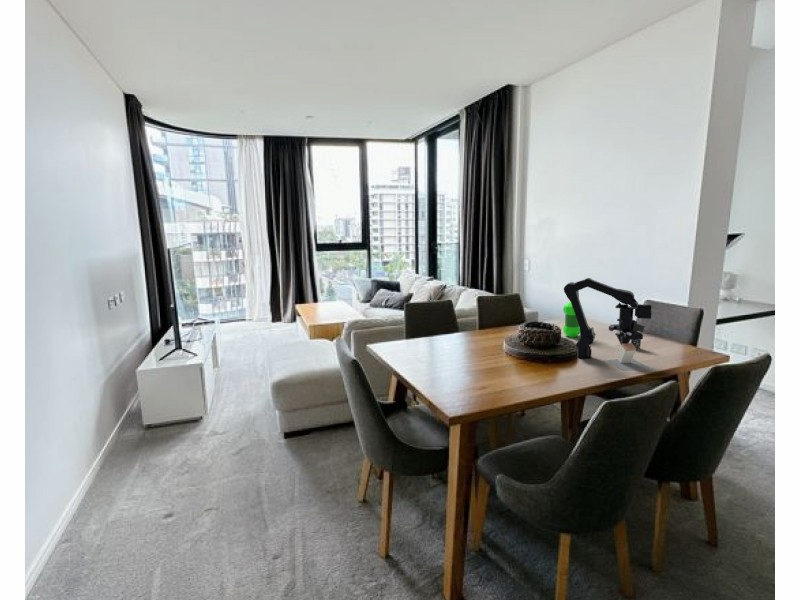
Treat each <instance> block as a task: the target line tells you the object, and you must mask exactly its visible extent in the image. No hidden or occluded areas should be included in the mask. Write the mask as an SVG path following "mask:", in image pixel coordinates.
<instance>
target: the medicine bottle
mask: <svg viewBox="0 0 800 600" xmlns="http://www.w3.org/2000/svg"><path fill="white" fill-rule="evenodd" d="M635 331H637V330H635ZM631 332H634V331H631ZM637 332H638V331H637ZM641 342H642V339H637V340H630V341H629V343H632V344H633V345H634V346H635V348H636V349H639V348H640V349H641ZM620 347H621V344H620V343H619V348H620Z"/></svg>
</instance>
